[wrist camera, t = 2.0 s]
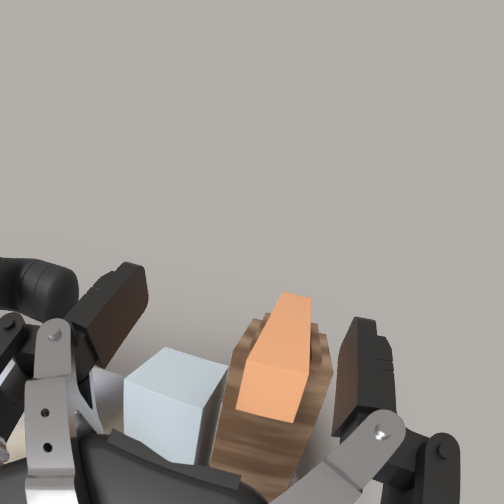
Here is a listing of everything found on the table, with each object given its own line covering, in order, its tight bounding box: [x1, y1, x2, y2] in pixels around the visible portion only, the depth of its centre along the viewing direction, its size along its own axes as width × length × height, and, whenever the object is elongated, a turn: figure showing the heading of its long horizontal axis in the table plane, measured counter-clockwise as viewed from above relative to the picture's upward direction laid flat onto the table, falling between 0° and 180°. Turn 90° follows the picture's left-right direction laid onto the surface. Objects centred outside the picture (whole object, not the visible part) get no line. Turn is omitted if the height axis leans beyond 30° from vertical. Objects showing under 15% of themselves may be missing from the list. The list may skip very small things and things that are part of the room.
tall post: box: [210, 313, 333, 503], centre depth 35 cm, size 12×10×33 cm
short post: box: [124, 347, 229, 466], centre depth 37 cm, size 12×10×24 cm
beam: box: [236, 292, 311, 423], centre depth 30 cm, size 24×4×4 cm, turn 169°
